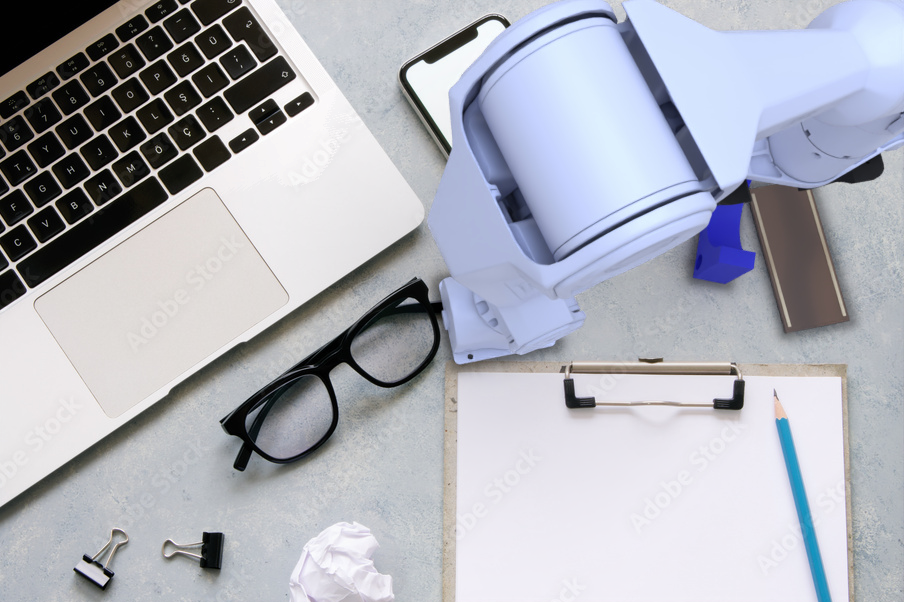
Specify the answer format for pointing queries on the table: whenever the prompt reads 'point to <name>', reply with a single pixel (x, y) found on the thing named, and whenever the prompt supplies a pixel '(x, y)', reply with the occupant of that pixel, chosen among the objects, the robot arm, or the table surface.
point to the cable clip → (723, 247)
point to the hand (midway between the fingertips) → (753, 187)
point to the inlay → (797, 257)
